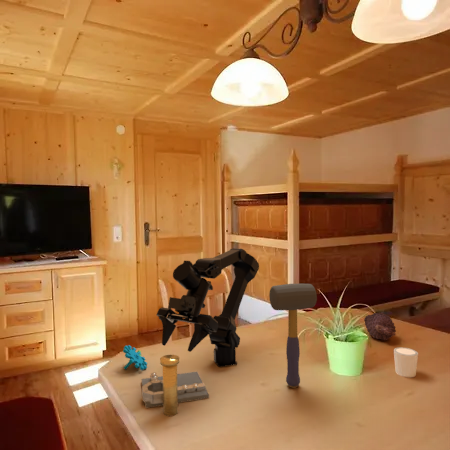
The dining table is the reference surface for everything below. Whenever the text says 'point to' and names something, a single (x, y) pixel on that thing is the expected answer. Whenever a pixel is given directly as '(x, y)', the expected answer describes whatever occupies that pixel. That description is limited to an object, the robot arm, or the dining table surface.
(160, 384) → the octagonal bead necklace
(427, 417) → the dining table surface
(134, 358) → the gear
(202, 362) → the dining table surface
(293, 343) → the rubber mallet
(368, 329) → the pine cone
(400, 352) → the shot glass
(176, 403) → the golden flared cup
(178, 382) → the grey base plate
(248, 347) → the dining table surface
